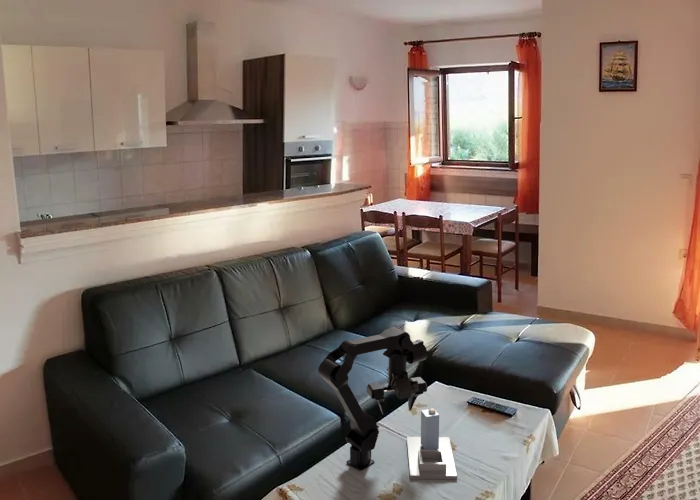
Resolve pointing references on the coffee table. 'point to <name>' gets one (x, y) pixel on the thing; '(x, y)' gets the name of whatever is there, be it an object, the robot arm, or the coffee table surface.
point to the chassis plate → (431, 460)
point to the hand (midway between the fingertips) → (396, 412)
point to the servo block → (430, 429)
